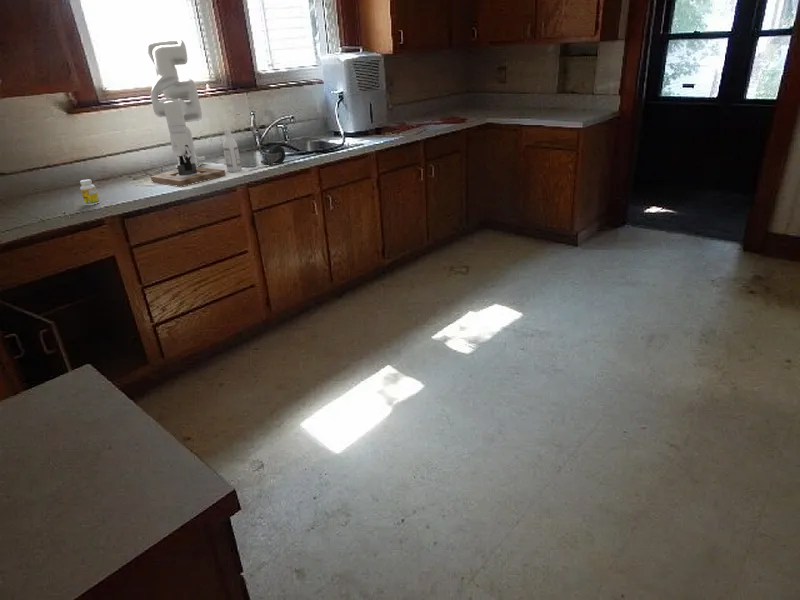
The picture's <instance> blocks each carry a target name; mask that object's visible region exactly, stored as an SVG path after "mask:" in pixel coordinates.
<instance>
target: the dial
mask: <svg viewBox="0 0 800 600" xmlns="http://www.w3.org/2000/svg"><path fill="white" fill-rule="evenodd" d="M176 165H177V168H178V169H177V168H176V169H177V170H178V173H179V174H177V175H176V176H178V177H187V176H192V175H196V174H200V172H197V170H196V165H195V163H191V166H192V170H190V171H185V167H184V164H182V165H178V164H176Z"/></svg>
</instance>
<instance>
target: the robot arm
mask: <svg viewBox="0 0 800 600" xmlns="http://www.w3.org/2000/svg"><path fill="white" fill-rule="evenodd" d="M145 47H146V51H147V53H148V57H149V58H150V59H151V61H152V63H153V65H154V67H155V71H156V77H157V79H156V80H155V82H154V83H153V85H152V87H151V91H150V97H151V98H150V99H151V104H152V109H153V112H154V115H156V117H158V118H165V119H166V123H167V127H168V133H169V135H170V136H169V137H170V144H171V150H172V153H173V155H175V156H176V160H177V163H178V164H176V165H175V168H176V169H177V165H182V164H184V167H185V171H190V170H192V166H191V163H195V165H196V167H197V166H198V167H201V166H200V165H202V163H201V161H205V160H206V157H205V156H204V155H203V156H198V155H196V150H195V144H194V140H193V137H192V131H191V129H190V128H189V127H188V126H187V125H186V123H192V122H199V121H201V120H202V118H203V113H202V112H203V111H202V107H201V103H200V98H199V93H198V90H197V89H198V88H197V85H196V83H195V82H194V80H193V79H191V78H179V75H178V71H177V68H176V66H179V65H186V64H187V63H188V52H187V47H186V44H185V42H184V41H183V40H182V39H180V38H173V39H172V38H171V39H170V38H168V39H154V40H150V41H147V42H146V46H145ZM161 92H162V93H163V96H164V98H165V99H159V95H160V94H161ZM185 100H189V101H185Z"/></svg>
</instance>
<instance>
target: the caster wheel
mask: <svg viewBox="0 0 800 600" xmlns="http://www.w3.org/2000/svg"><path fill="white" fill-rule="evenodd" d="M285 159H286V150H285V149H284V148H283V147H282V146H281V145H279V144H275V145H274V144H273V145H272V146H271V147H270V148H269V150H268V152H267V153H264V160H261V161H260V163H261V164H265V166H267V165H273V166H274V164H276V165H277V163H280V164H282V163H284V161H285ZM281 162H282V163H281Z"/></svg>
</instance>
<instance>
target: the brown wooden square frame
mask: <svg viewBox="0 0 800 600" xmlns="http://www.w3.org/2000/svg"><path fill="white" fill-rule="evenodd" d="M196 170H197V172H200V174H196V175H192V176H187V177H178V176H176V175H177V174H179V173H178V169H177V170H173V171H169V172H164V173H160V174H156V175H151V176H150V179H151V182H152V181H153V182H152V183H156V182H158V183H157V184H162V183H164V185H168V184H170V186H174V185H177V186H176V187H180V186H182V187H185V186H184V185H186V186H189V185H188V184H190V185H193V184H192V183H194V184H197V183H196V182H198V183H201V182H200V181H202V182H204V180H206V181H209V180H208V179H210V180H213V178H214V179H218V178H221V176H222V177H225V175H226V170H225V169H218V168H210V167H203V166H198V167H196ZM226 176H227V175H226ZM217 177H218V178H217Z"/></svg>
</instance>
